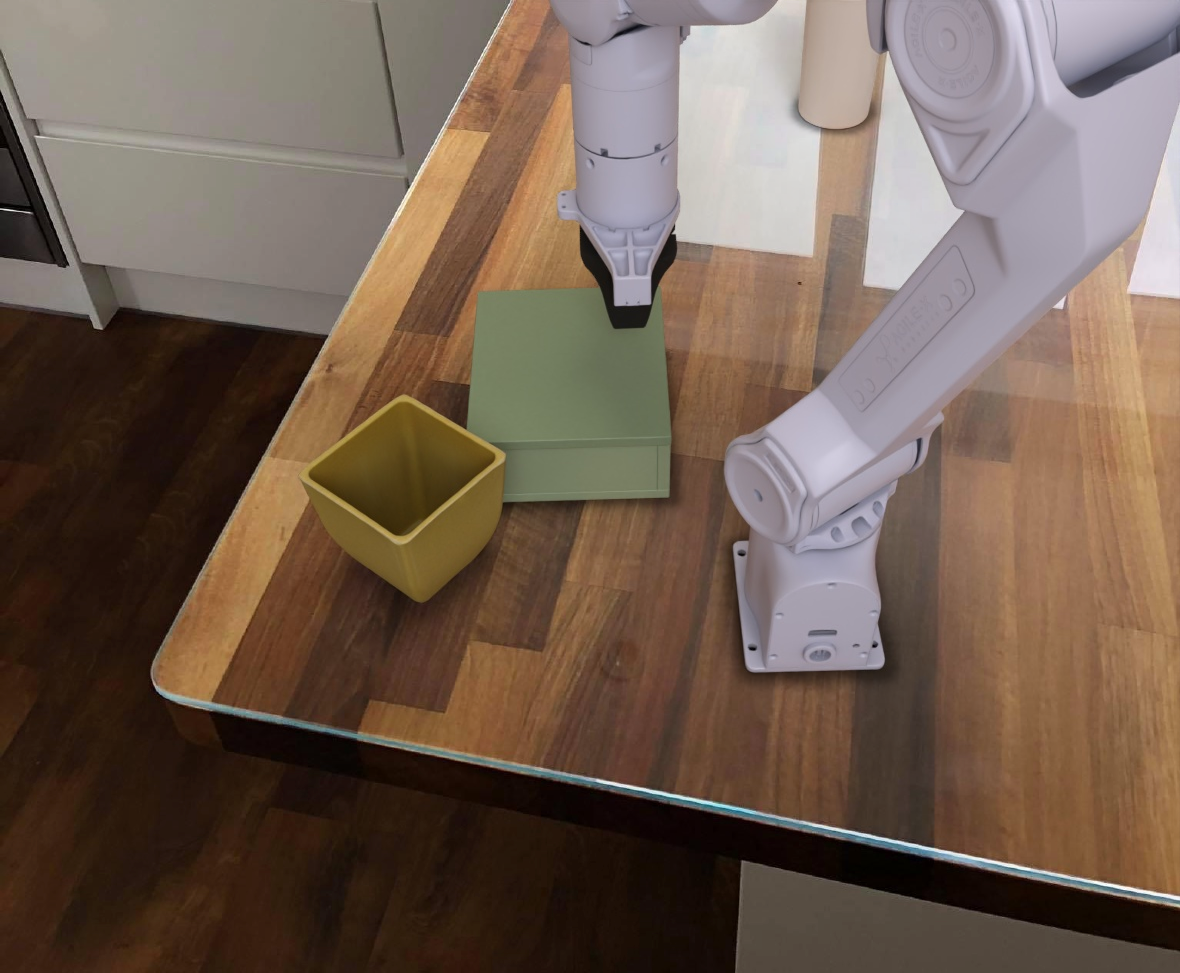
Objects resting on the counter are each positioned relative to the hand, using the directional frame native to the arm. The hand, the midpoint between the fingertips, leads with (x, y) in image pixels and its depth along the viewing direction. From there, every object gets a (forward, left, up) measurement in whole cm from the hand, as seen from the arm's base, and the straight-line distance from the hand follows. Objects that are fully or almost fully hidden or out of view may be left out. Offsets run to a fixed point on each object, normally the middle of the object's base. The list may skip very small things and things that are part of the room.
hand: (628, 321), depth 77 cm
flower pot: (-11, +13, -10) cm, 20 cm away
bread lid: (0, +4, -4) cm, 6 cm away
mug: (+41, -20, -10) cm, 46 cm away
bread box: (+1, +4, -10) cm, 11 cm away
